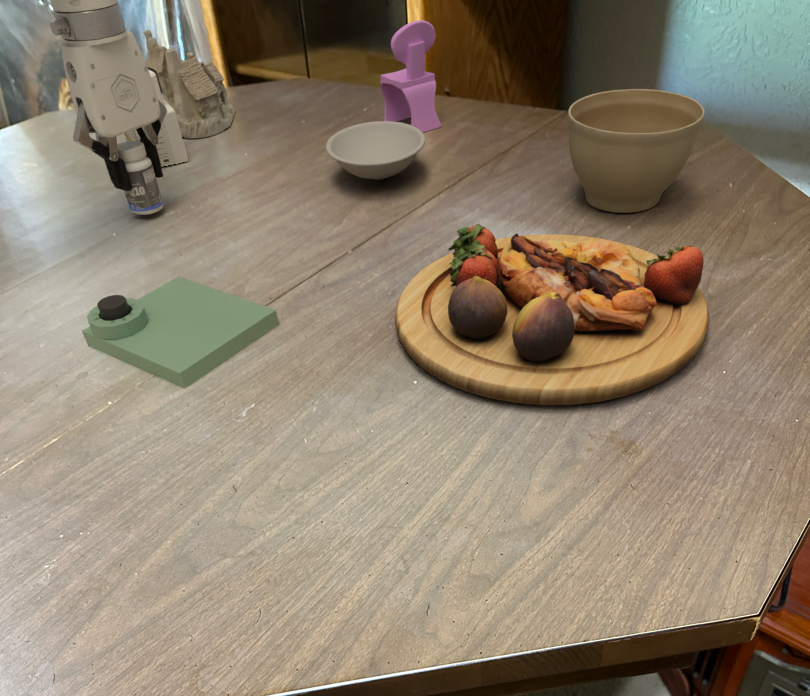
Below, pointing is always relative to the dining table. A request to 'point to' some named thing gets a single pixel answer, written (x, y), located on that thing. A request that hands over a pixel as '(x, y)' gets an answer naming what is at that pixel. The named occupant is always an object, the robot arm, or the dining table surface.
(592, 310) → the wooden plate
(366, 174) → the dish
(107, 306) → the button
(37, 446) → the dining table surface
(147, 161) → the pill bottle
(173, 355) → the scale
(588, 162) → the planter bowl
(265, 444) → the dining table surface
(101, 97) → the robot arm
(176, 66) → the ceramic cottage
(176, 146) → the container
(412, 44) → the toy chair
